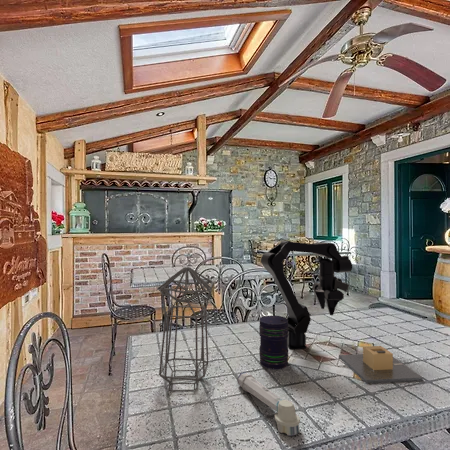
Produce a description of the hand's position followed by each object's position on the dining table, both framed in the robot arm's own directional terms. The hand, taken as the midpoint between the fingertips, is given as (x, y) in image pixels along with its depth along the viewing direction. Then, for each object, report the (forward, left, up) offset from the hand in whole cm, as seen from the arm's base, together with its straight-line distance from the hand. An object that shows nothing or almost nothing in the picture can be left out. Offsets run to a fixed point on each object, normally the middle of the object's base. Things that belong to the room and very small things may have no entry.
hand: (327, 311), depth 125 cm
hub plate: (+7, -24, -12) cm, 28 cm away
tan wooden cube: (+7, -24, -11) cm, 28 cm away
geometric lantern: (-55, -28, -12) cm, 63 cm away
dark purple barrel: (-26, -17, -12) cm, 34 cm away
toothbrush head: (-34, -42, -12) cm, 56 cm away
